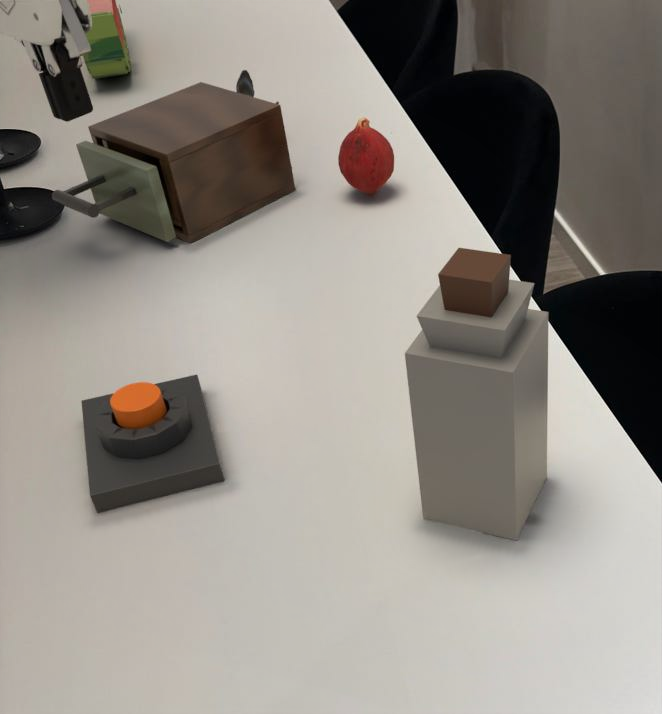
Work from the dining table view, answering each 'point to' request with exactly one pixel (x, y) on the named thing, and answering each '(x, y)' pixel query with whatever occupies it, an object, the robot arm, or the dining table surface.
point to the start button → (138, 405)
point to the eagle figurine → (245, 84)
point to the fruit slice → (106, 41)
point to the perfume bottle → (480, 397)
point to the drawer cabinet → (209, 152)
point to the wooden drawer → (125, 189)
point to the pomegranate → (366, 158)
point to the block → (150, 449)
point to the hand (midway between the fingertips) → (74, 114)
